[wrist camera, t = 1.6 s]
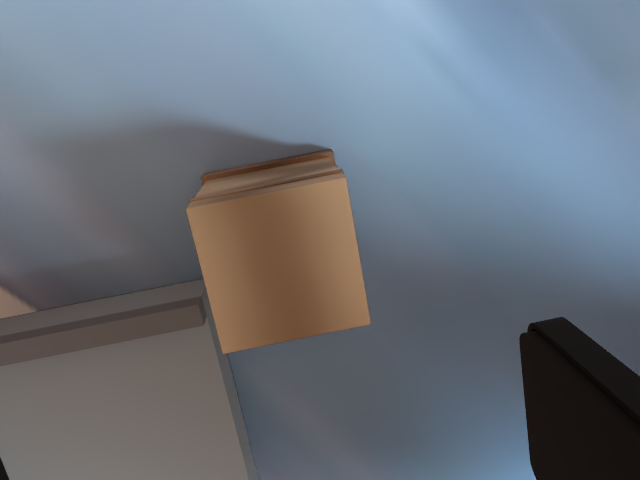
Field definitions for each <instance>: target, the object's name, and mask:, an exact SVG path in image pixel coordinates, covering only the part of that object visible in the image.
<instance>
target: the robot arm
mask: <svg viewBox="0 0 640 480" xmlns="http://www.w3.org/2000/svg"><path fill="white" fill-rule="evenodd" d="M520 353H521V364H522V375H523V386H524V397H525V408H526V419H527V430H528V441H529V453H530V461H531V466H532V469H533V472H534V475H535V477H536V479H537V480H640V377H639V376H638V375H637V374H636V373H634V372H633V371H632V370H631V369H629V368H628V367H627V366H625V365H624V364H623V363H622V362H620V361H619V360H618V359H617V358H615V357H614V356H613V355H611V354H610V353H609V352H608V351H606V350H605V349H604V348H602V347H601V346H600V345H599V344H597V343H596V342H595V341H594V340H592V339H591V338H590V337H588V336H587V335H586V334H585V333H583V332H582V331H581V330H579V329H578V328H577V327H576V326H574V325H573V324H572V323H571V322H569V321H568V320H567V319H565V318H563V317H559V318H554V319H549V320H544V321H540V322H535V323H530V325H529V326H528V332H527V333H522V334H521V335H520ZM0 480H9V477H8V475H7V472H6V470H5V467H4V465H3V462H2V460H1V457H0Z"/></svg>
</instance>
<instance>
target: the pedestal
mask: <svg viewBox="0 0 640 480" xmlns="http://www.w3.org/2000/svg"><path fill="white" fill-rule="evenodd" d="M201 179H202V183H203V186H202V188H201V189H200V190H199V192H198V193H197V194H196V196H195V197H194V198H191V199H190V200H189V203H190V204H189V205H188V206H187V208H186V211H187V215H188V219H189V223H190V227H191V231H192V235H193V239H194V243H195V246H196V250H197V254H198V258H199V262H200V266H201V270H202V274H203V278H204V282H205V286H206V290H207V294H208V298H209V302H210V305H211V309H212V313H213V317H214V321H215V325H216V329H217V333H218V337H219V341H220V345H221V349H222V353H223V354H226V353H231V352H236V351H241V350H246V349H251V348H256V347H261V346H266V345H271V344H275V343H280V342H285V341H290V340H295V339H300V338H305V337H310V336H315V335H320V334H325V333H330V332H335V331H340V330H345V329H350V328H355V327H360V326H365V325H370V324H371V321H370V315H369V310H368V304H367V298H366V292H365V286H364V280H363V274H362V269H361V263H360V257H359V251H358V245H357V239H356V233H355V228H354V222H353V216H352V210H351V204H350V198H349V192H348V187H347V181H346V177H345V176H344V173H343V170H342V169H339V168H338V167H337V166H336V164H335V159H334V153H333V151H332V150H331V149H328V150H323V151H318V152H312V153H307V154H302V155H297V156H292V157H287V158H281V159H276V160H271V161H266V162H261V163H256V164H250V165H245V166H240V167H235V168H230V169H224V170H219V171H214V172H209V173H204V174H203V175H202V177H201Z"/></svg>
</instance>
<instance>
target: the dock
mask: <svg viewBox="0 0 640 480" xmlns="http://www.w3.org/2000/svg"><path fill="white" fill-rule="evenodd" d="M0 457H1V460H2V462H3V465H4V467H5V470H6V472H7V475H8V477H9V480H259V478H258V474H257V470H256V466H255V462H254V458H253V454H252V450H251V447H250V443H249V439H248V435H247V431H246V427H245V423H244V419H243V415H242V411H241V407H240V403H239V399H238V395H237V391H236V387H235V383H234V379H233V375H232V371H231V367H230V363H229V359H228V355H227V353H226V354H223V353H222V349H221V345H220V341H219V337H218V333H217V329H216V325H215V321H214V317H213V313H212V309H211V305H210V302H209V298H208V294H207V290H206V286H205V282H204V279H199V280H194V281H189V282H184V283H179V284H174V285H169V286H164V287H159V288H154V289H149V290H144V291H139V292H134V293H129V294H124V295H118V296H113V297H108V298H103V299H98V300H93V301H88V302H83V303H78V304H73V305H68V306H63V307H58V308H53V309H48V310H43V311H38V312H33V313H28V314H23V315H18V316H13V317H8V318H2V319H0Z"/></svg>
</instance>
